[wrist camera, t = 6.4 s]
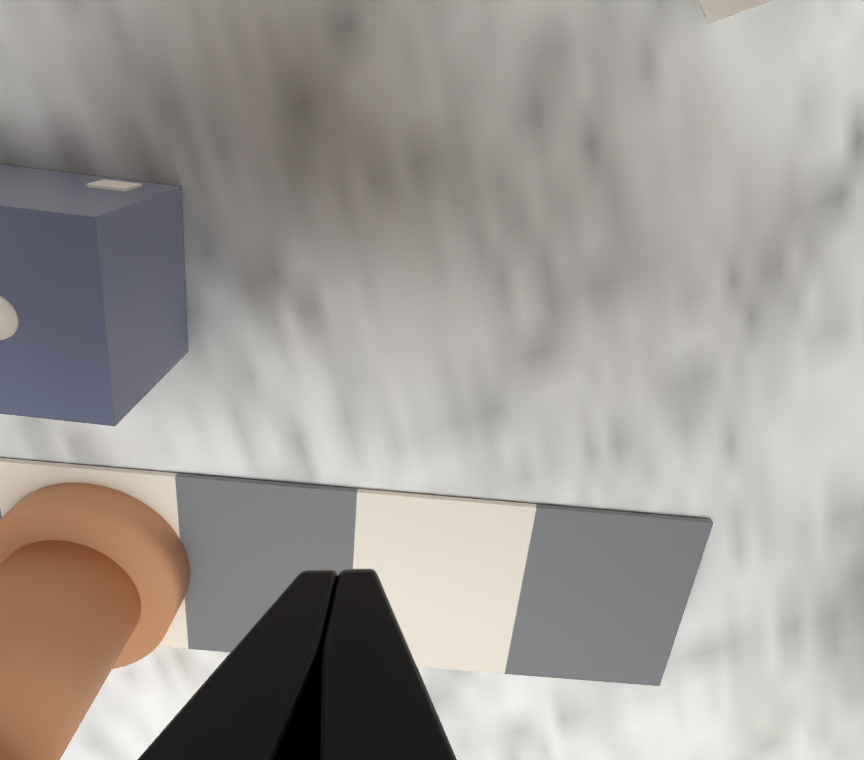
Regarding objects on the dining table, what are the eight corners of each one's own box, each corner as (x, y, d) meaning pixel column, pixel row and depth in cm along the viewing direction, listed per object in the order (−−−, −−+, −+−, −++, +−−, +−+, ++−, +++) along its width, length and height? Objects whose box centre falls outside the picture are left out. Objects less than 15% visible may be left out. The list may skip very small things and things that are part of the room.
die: (182, 183, 16) (93, 214, 12) (189, 350, 18) (113, 427, 14) (1, 161, 16) (-153, 184, 12) (26, 332, 18) (-99, 404, 14)
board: (710, 519, 20) (712, 522, 20) (657, 681, 23) (659, 685, 23) (-193, 441, 19) (-198, 444, 19) (-132, 618, 22) (-137, 623, 22)
